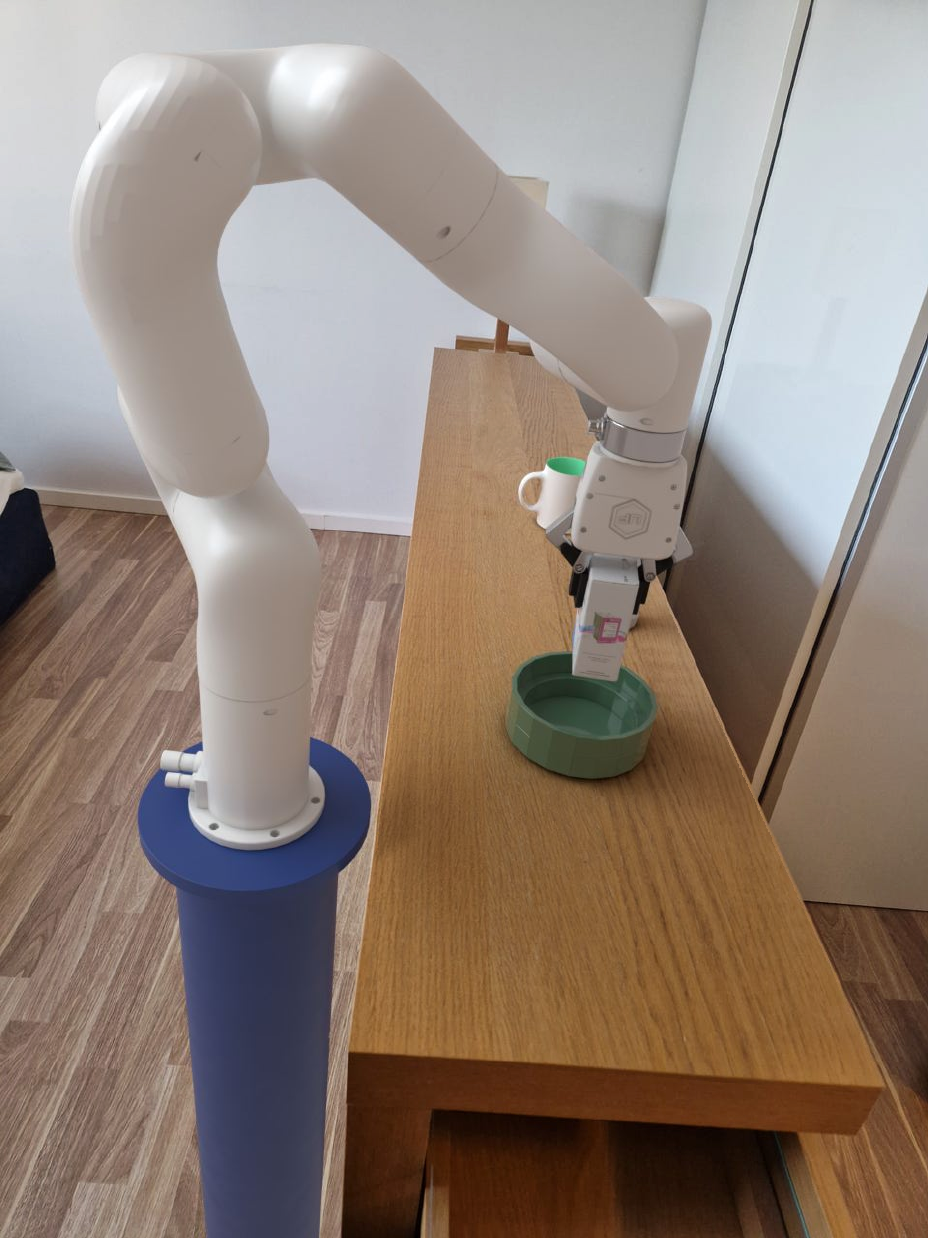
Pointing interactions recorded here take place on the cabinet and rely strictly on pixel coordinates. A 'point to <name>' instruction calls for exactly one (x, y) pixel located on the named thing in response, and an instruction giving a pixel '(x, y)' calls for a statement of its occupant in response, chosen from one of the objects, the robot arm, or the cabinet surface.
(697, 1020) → the cabinet surface
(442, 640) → the cabinet surface
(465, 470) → the cabinet surface
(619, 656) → the ink box
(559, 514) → the mug
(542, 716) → the bowl
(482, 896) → the cabinet surface
